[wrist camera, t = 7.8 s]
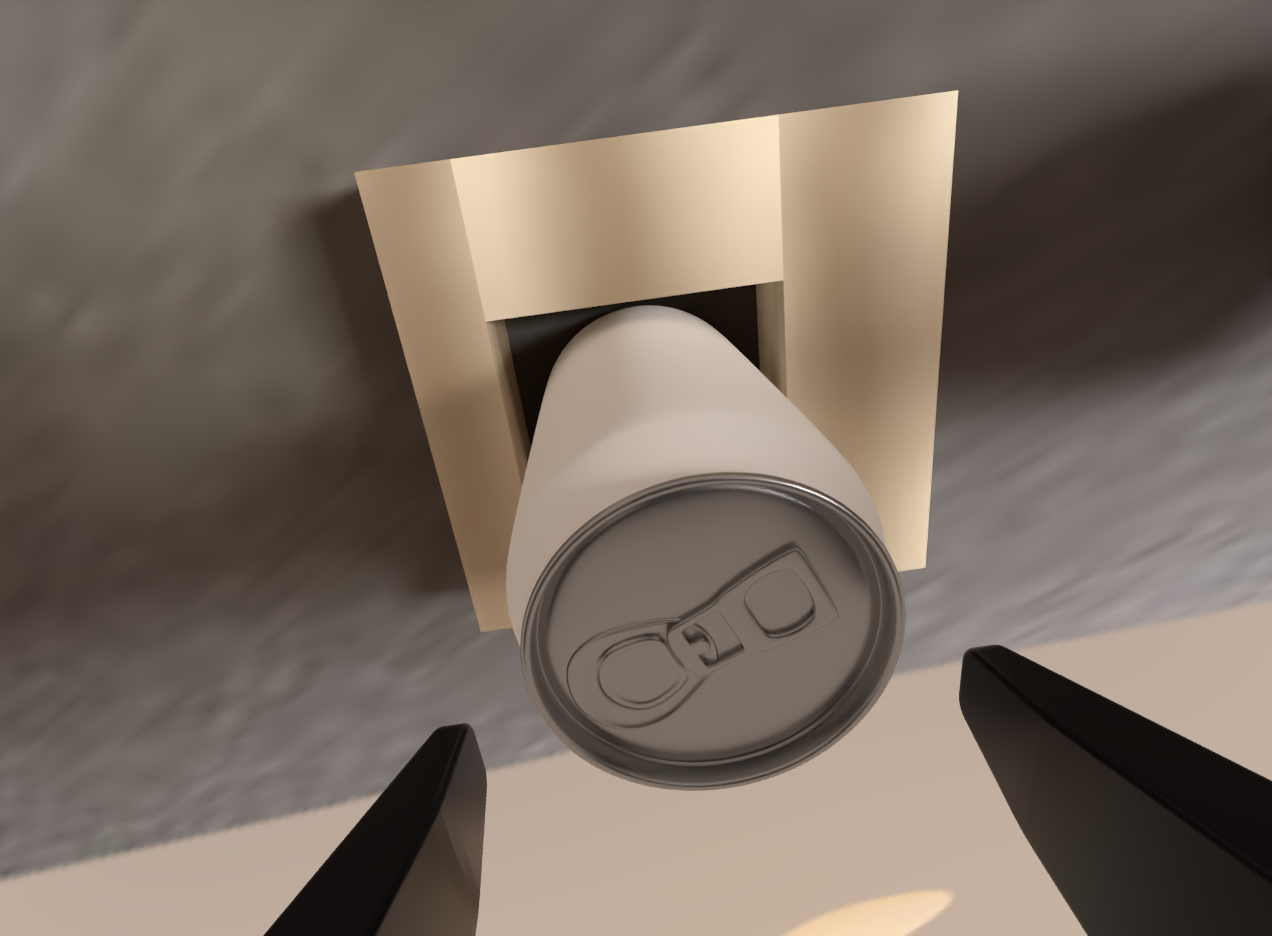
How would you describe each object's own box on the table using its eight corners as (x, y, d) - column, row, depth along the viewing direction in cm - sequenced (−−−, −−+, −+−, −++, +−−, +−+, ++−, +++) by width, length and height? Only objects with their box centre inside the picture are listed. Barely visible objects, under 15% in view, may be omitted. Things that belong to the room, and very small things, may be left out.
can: (503, 375, 19) (389, 604, 8) (682, 259, 18) (823, 343, 7) (615, 529, 22) (643, 865, 11) (780, 432, 21) (996, 693, 10)
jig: (899, 108, 17) (958, 90, 14) (883, 522, 22) (925, 567, 20) (392, 176, 17) (353, 172, 14) (494, 578, 22) (481, 632, 19)
